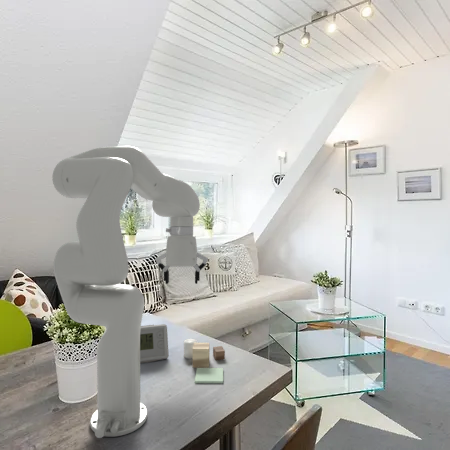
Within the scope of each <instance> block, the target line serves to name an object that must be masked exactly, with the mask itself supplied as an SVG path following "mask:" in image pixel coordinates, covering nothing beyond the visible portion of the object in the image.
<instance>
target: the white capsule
mask: <svg viewBox="0 0 450 450" xmlns="http://www.w3.org/2000/svg"><path fill="white" fill-rule="evenodd" d="M194 343H198V340H197V339H194V338H188V339H185V340H183V358H185V359H186V360H193V345H194Z"/></svg>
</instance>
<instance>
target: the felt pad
mask: <svg viewBox="0 0 450 450" xmlns="http://www.w3.org/2000/svg"><path fill="white" fill-rule="evenodd" d="M194 384H224V368H223V367H209V368H196V371H195V378H194Z"/></svg>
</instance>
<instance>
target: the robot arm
mask: <svg viewBox="0 0 450 450" xmlns="http://www.w3.org/2000/svg"><path fill="white" fill-rule="evenodd" d="M53 169H54V170H53V172H52V177H51V178H52V184H53V187H54V188H55V190H56V191H57V192H58V193H59V194H60V195H61V196H63V197H66V198H69V199H86V200H85V202H84V203H83V205H82V207H81V208H80V210H79V213H78V215H77V218H76V222H75V223H76V224H75V225H76V226H75V227H76V233H77V237H78V240H72V241H68V242H65V243H64V244H62V245H60V247H59V249H57V251H56V253H55V255H54V259H53V274H54V278H55V281H56V284H57V288H58V290H59V293H60V296H61V300H62V302H63V305H64V307H65V310H66V313H67V315H68V316H69V317H70V319H71V320H72V321H74V322H76V323H79V324H85V325H94V326H100V327H105V332H103V335H102V336H101V337H100V339H99V341H98V343H97V345H96V375H97V376H96V377H97V378H96V380H97V381H96V382H97V383H96V387H97V389H96V390H97V392H96V393H97V395H96V396H97V400H96V401H97V409H96V410H95V411H94V412H93V413H92V415H91V416H90V421H89V423H90V425H89V427H90V429H91V430H92V431H93V432H94V435H95V437H96V438H97V439H101V438H103V437H111V438H112V437H114V438H115V437H120V436H125V435H128V434H130V433H133V432H134V431H137V430H138V429H139V428H141V427H142V426H143V425H144V424H145V423H146V421H147V420H148V419H147V418H148V409H147V407H146V406H145V405H144V404H143V403H142V402H141V363H140V330H141V326H142V320H143V315H144V309H145V297H144V294H143V292H142V291H141V290H140V289H138V288H137V287H135V286H133V285H129V284H126V283H125V284H124V283H123V282H124V281H125V280H126V279H127V277H128V275H129V270H130V269H129V266H130V265H129V259H128V255H127V251H126V246H125V242H124V238H123V233H122V227H121V223H120V222H121V220H120V219H121V211H122V208H123V206H124V203H125V202H126V199H127V198H128V194H129V192H130V191H131V190H132V191H134V192H135V193H136V194H137V195H138V196H139V197H141V198H142V199H145V200H147V201H152V203H151V206H152V211H154V213H155V214H156V215H157V216H159V217H162V218H169V220H170V221H169V223H170V224H169V225H170V226H169V227H167V228H165V233H169V234H170V235H168V236H167V241H166V248H165V253H163V254H160V255H159V256H157V257H156V258H155V261H156V264H157V266H158V267H159V268H160V270H162V272H163V282H165V284H166V285H168V284H169V282H170V270H169V268H170V267H172V268H173V267H179V268H181V267H183V268H184V267H186V268H187V267H188V268H189V267H193V269H194V270H195V271H194V283H195V284H198V282H200V277H201V276H200V271H201V270H202V269H204V267H205V266H206V265H207V262H208V260H209V258H208V257H207V256H205V255H203V254H201V253H199V252H198V246H197V244H198V243H197V239H196V235H194V217H195V216H197V214H198V213H199V210H200V205H201V203H200V199H199V195H197V192H196V191H195V190H194V189H193V187H192V186H191V185H190V184H188V183H187V182H185V181H183V180H180V179H178V178H176V177H173V176H171V175H169V174H165V173H163V172H162V171H161V170H160V169H159V168H158V167H157V166H156V165H155V164H154V163H153V162H152V160H151V159H150V158H149V157H148V155H146V154H145V153H144V152H143V151H142V150H141V149H140V148H138V147H135V146H131V145H122V146H121V145H120V146H101V147H97V148H92V149H90V150H87V151H85V152H81V153H78V154H75V155H73V156H69V157H66V158H63V159H62V160H61V161H59V162H58V163H57V164H56V165H55V167H54V168H53ZM164 259H165V264H164V263H163V262H162V260H164ZM198 259H200V260H202V262H201V263H200V264H198Z"/></svg>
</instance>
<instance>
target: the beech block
mask: <svg viewBox="0 0 450 450" xmlns="http://www.w3.org/2000/svg"><path fill="white" fill-rule="evenodd" d="M192 368H193V369H195V368H196V369H197V368H210V342H197V343H194V345H193V359H192Z"/></svg>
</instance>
